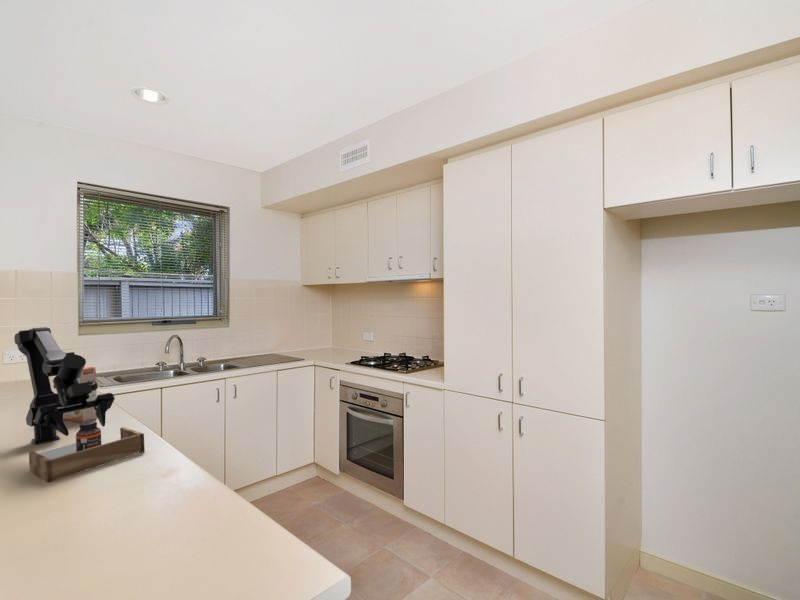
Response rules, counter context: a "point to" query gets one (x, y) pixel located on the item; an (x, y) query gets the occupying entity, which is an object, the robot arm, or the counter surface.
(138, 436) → the open wooden enclosure
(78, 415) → the cracker box
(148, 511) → the counter surface
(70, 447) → the mat
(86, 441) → the supplement bottle
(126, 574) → the counter surface
